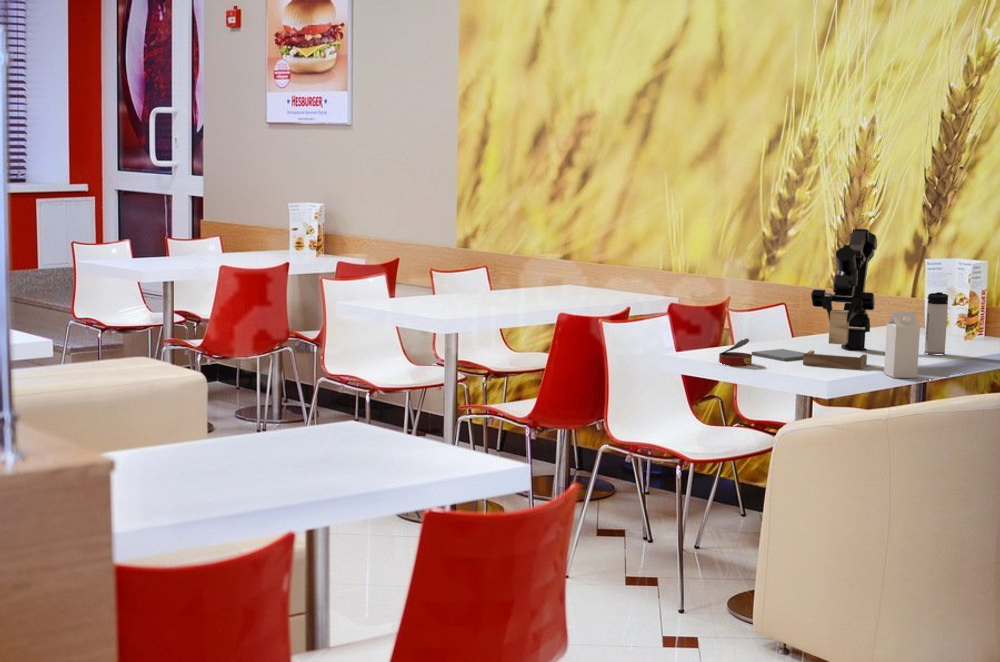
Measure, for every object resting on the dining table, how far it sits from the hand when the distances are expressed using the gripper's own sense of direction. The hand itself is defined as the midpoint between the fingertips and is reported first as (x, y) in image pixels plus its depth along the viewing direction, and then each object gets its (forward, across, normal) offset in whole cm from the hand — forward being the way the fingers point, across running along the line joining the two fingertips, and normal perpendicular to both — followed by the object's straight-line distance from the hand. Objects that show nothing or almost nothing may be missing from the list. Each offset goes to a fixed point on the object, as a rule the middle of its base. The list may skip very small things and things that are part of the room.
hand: (838, 320), depth 393 cm
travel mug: (-16, +25, +35) cm, 46 cm away
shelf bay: (+11, 0, +7) cm, 14 cm away
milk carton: (+20, +21, -1) cm, 29 cm away
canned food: (+22, -28, -2) cm, 35 cm away
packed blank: (+4, 0, +6) cm, 7 cm away
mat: (+6, -18, +13) cm, 23 cm away
